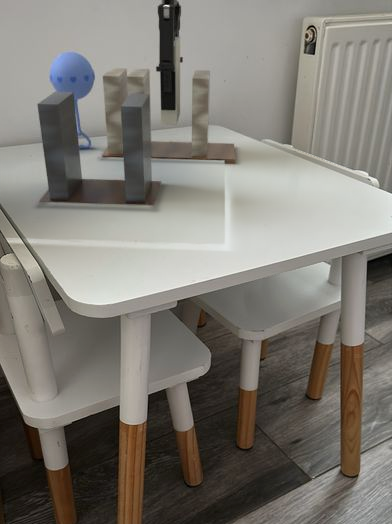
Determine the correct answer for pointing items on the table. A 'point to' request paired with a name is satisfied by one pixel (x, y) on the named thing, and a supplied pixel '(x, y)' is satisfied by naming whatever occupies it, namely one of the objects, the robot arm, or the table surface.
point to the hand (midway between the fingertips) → (170, 104)
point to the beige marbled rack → (139, 83)
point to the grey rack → (68, 157)
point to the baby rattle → (73, 80)
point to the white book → (173, 115)
